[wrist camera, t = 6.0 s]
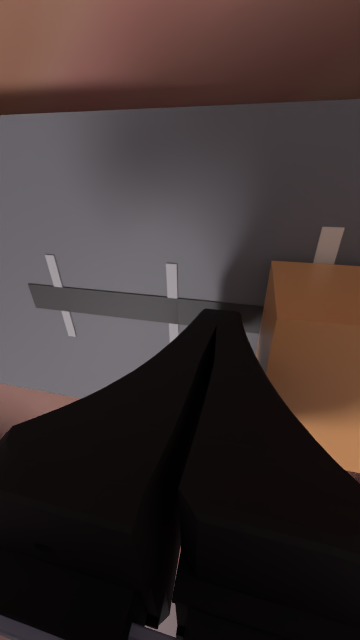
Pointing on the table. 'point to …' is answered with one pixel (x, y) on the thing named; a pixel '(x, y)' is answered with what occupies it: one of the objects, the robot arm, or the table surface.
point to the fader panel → (160, 226)
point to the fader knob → (316, 351)
